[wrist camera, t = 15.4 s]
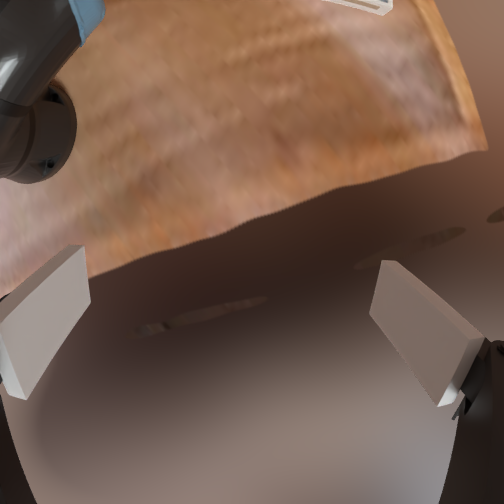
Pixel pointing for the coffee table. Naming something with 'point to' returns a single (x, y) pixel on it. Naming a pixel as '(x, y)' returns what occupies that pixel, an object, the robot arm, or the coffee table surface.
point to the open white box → (368, 5)
